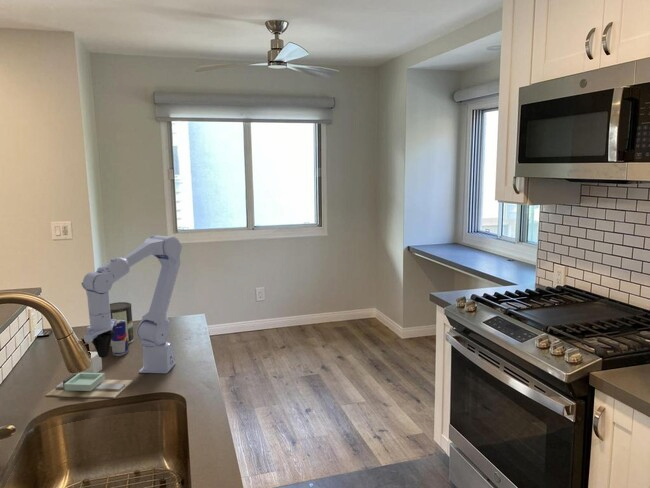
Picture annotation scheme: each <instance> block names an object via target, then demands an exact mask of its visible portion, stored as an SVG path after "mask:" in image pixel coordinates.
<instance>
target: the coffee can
mask: <svg viewBox="0 0 650 488" xmlns="http://www.w3.org/2000/svg"><path fill="white" fill-rule="evenodd" d="M110 314H111V319H125V320H126V323H127V336H128V345H130V344H131V343H133V342H134V341H135V337H134V336H135V335H134V327H133V326H134V325H133V312H132V303H130V302H126V301H124V302H123V301H119V302H112V303H111V302H110ZM109 331H111V330H109ZM110 347H112V341H111V343H110Z"/></svg>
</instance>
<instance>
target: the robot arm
mask: <svg viewBox="0 0 650 488" xmlns="http://www.w3.org/2000/svg"><path fill="white" fill-rule="evenodd" d="M182 249H183V246H182V244H181V242H180V241H179V238H177V237H176V236H164V235H158V234H153V235H150V236H149V237H147V238H146V239H145V240H144V242H143V243H141V244H140V245H138V246H137V247H136V248H134V249H132V251H131V252H129V253H128V254H126V255H125V256H124V257H112V258H110V261H109V262H107V263H106V264H104V265H102V266H99V267H98V268H97V270H96V271H89V272H88V273H87V274H85V275H84V277H83V280H82V282H81V286H82V289H84V290H85V292H86V297H87V306H88V307H87V308H88V318H89V326H87V327H86V330H87V332H86V334H84V335H83V336H84V337H83V339H84V343H92V344H93V346H94V348H95V351H96V352H97V353H98V355H99V357H101V358H107V357H108V356H109V354H110V347H111V346H110V343H111V340H112V337H113V335H114V331H109V330H111V329H112V328H113V326H116V325H117V320H116V319H111V314H110V304H111V302H110V294H109V293H110V290H112V286H113V285H114V284H115V282H118V281H119V280H120V279H121V278H123V277H124V276H126V275H128V274H129V273H130V269H131V267H133V266H134V265H136V264H137V263H139V262H141V261H143V260H144V259H146V258H147V257H149V256H151V255H152V256H154V257H155V258H156V259H157V260H158V262H159V263H160V265H161V267H160V271H159V274H158V279H157V282H156V286H155V289H154V292H153V293H154V294H153V295H152V296H153V297H152V299H151V304H150V307H149V309H148V312H146V313H145V314H144V315H143V316H142V318H141V320H140V323H138V325H137V327H136V331H135V332H136V333H135V334H136V336H137V338H138V339H140V343H141V347H142V348H141V349H142V360H143V361H142V363H143V367H141V369H139V370H138V373H140V374H142V373H143V374H168V373H169V372H170V371H171V370H172V368H174V366H175V365H176V361H175V360H176V359H175V348H174V347H175V346H174V344H173V343H172V342H168V339H169V337H170V325H171V321H170V320H169V318H168V317H167V314H168V310H169V306H170V302H171V298H172V296H173V295H172V294H173V292H174V287H175V284H176V279H177V277H178V273H179V269H180V265H181V253H182Z"/></svg>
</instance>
